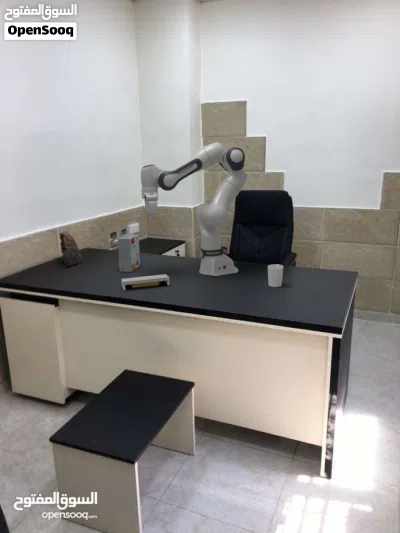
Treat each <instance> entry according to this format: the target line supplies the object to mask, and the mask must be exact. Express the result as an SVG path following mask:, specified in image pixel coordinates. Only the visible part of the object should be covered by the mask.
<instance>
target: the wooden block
mask: <svg viewBox="0 0 400 533" xmlns="http://www.w3.org/2000/svg"><path fill="white" fill-rule="evenodd" d="M159 285H160V282H159V281H155V282H146V283H136V284H132V285H131V287H132V288H133V289H134V288H142V287H151V286H159Z"/></svg>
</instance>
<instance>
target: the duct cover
mask: <svg viewBox="0 0 400 533" xmlns="http://www.w3.org/2000/svg"><path fill="white" fill-rule="evenodd" d="M165 280H169V281H170V276H168V275H167V274H166V273H165V274H155V275H149V276H148V275H147V276H146V275H145V276H137V277H126V278H121V284H122V283H123V285H126V286H128V285H127V284H136V283H146V282H155V281H164V282H165Z"/></svg>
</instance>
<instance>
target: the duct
mask: <svg viewBox="0 0 400 533" xmlns="http://www.w3.org/2000/svg"><path fill="white" fill-rule="evenodd" d="M161 282H162V281H159V283H161ZM164 283H165V284H166V285H167V286H170V280H165V281H164ZM121 286H122V290H123V291H126V287H127V286H132V284H127V285H123V283H122V282H121Z"/></svg>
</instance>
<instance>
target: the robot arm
mask: <svg viewBox="0 0 400 533" xmlns="http://www.w3.org/2000/svg"><path fill="white" fill-rule="evenodd" d="M245 160H246V154H245V151H244V150H243V149H242V148H240V147H237V146H235V147H231V148H228V150H227V149H225V147H224V145H223V144H222V143H221V142H218V141H217V142H212V143H210V144H206V145H205V146H202V147H201V148H199V149H198V150H196V151H194V152H193V153H192V154H191V156H190V159H189V160H188V161H187V162H186V163H184V164H183V165H181V166H179V167H177V168H176V169H174V170H165V169H163V168H161V167H158V166H157V165H156V164H147V165H144V166H142V168H141V169H140V183H141V199H142V200H144V209H145V211H146V212H147V213H148V219H149V221H154V215H157V214H158V200H159V192H158V190H159V188H160V189H162V190H164V191H166V192H167V191H168V192H169V191H172V190H174V189H175V188H176V187H177V186H178V184H179V183H180V182H181V181H183V180H184V179H186V178H188V177H190V176H191V175H193V174H195V173H197V172H200V171H203V170H206V169H208V168H210V167H212V166H214V165H215V164H219V166H220V167H222V168H223V170H225V171H227V175H226V176H225V177H224V179H223V181H222V182H220V184H219V186H218V187H217V188H216V190H215V192H214V196H213V198H212V201H211V202H210V203H208V202H204V203H201V204H199V205H198V206H197V207H196V209H195V215H196V217H197V221H198V222H197V223H198V227H199V232H200V239H201V240H200V246H201V247H200V267H199V270H198V272H199V274H201V275H205V276H206V275H207V276H213V277H219V276H223V275H224V276H225V275H230V274H237V273H238V272H239V269H238V267H236V266H235V264H234V261H233V259H232V258H231V257H229V256H228V255H227V254H226V253H227V249H226V248H223V247H222V243H221V242H222V241H221V239H222V238H221V237H222V236H221V233H220V230H219V226H221V225H223V224H224V223H225V221H226V219H227V213H228V211H229V208H230V207H231V205H232V203H233V201H234V200H235V199H236V197H237V196H238V195H239V193H240V192H241V191H242V189H243V187H244V186H245V184H246V182H247V180H248V175H247V173H246V172H245V170H244V166H245V162H246V161H245Z"/></svg>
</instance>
